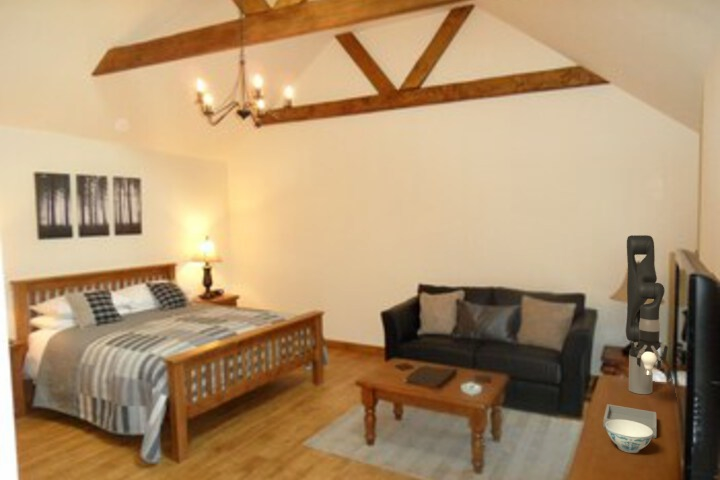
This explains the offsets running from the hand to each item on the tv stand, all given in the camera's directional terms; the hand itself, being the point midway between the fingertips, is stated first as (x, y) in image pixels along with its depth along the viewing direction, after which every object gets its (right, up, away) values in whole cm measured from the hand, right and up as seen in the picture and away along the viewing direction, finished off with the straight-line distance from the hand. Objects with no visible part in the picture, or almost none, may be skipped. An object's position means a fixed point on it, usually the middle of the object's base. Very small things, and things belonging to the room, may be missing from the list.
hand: (648, 367), depth 211 cm
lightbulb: (0, -4, 0) cm, 4 cm away
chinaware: (-27, -21, -33) cm, 48 cm away
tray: (-15, -20, -13) cm, 28 cm away
